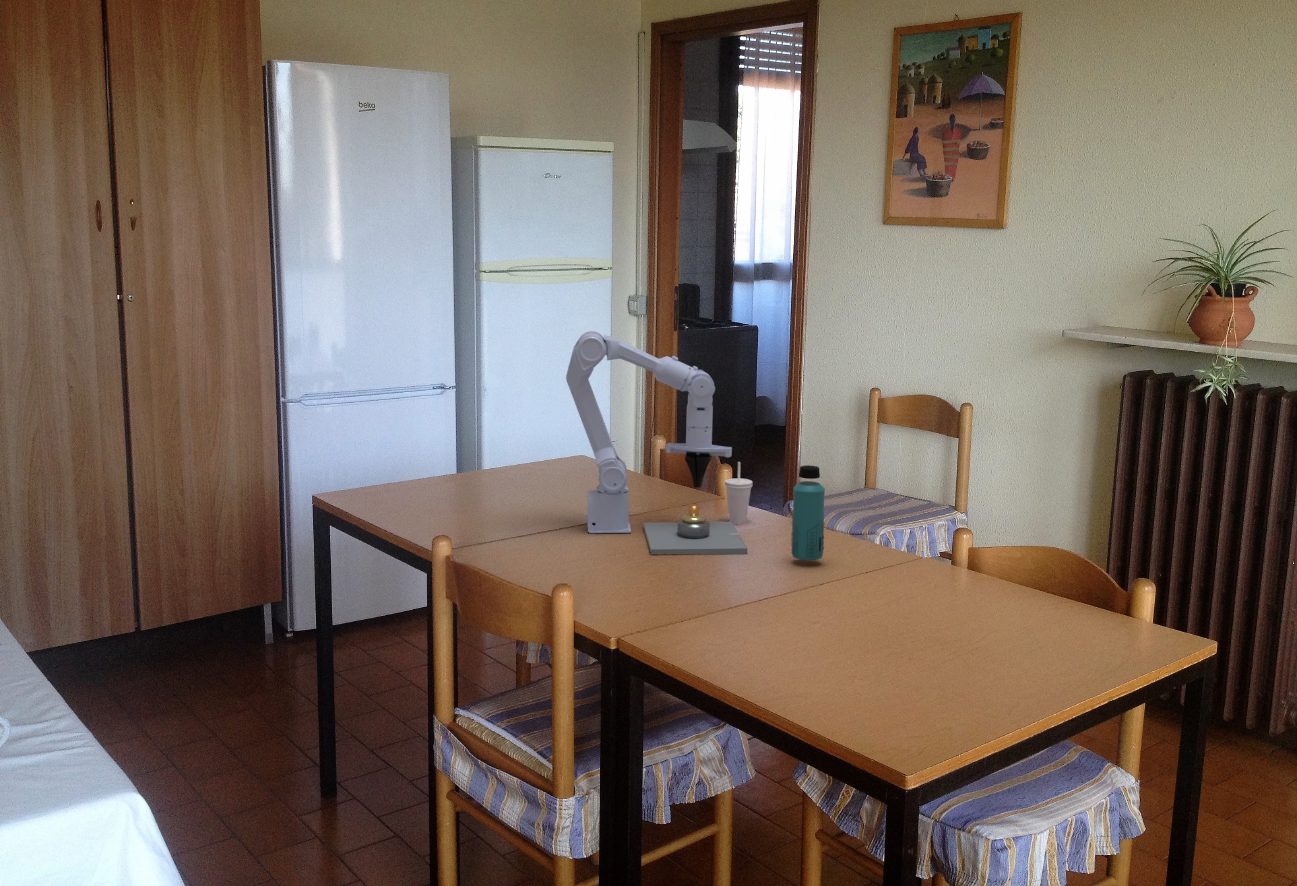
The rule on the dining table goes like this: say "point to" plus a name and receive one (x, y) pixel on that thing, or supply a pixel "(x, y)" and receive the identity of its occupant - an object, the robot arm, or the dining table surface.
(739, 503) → the smoothie
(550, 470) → the dining table surface
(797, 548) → the beverage bottle
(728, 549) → the stand
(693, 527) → the crank
